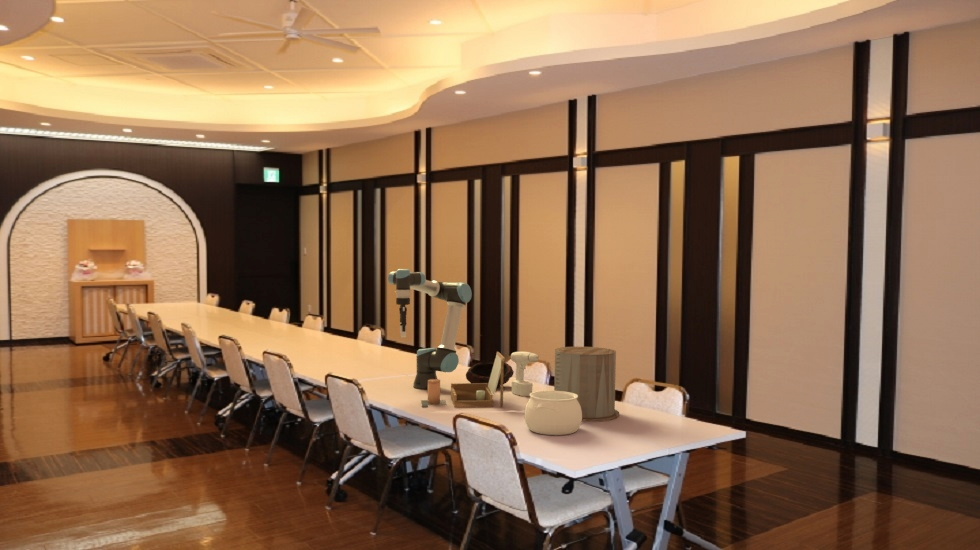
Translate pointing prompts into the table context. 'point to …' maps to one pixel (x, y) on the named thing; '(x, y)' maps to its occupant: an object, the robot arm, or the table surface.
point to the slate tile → (425, 404)
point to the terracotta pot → (433, 391)
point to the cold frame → (474, 393)
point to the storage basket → (588, 380)
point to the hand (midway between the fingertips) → (403, 336)
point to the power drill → (522, 372)
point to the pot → (553, 412)
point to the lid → (495, 373)
